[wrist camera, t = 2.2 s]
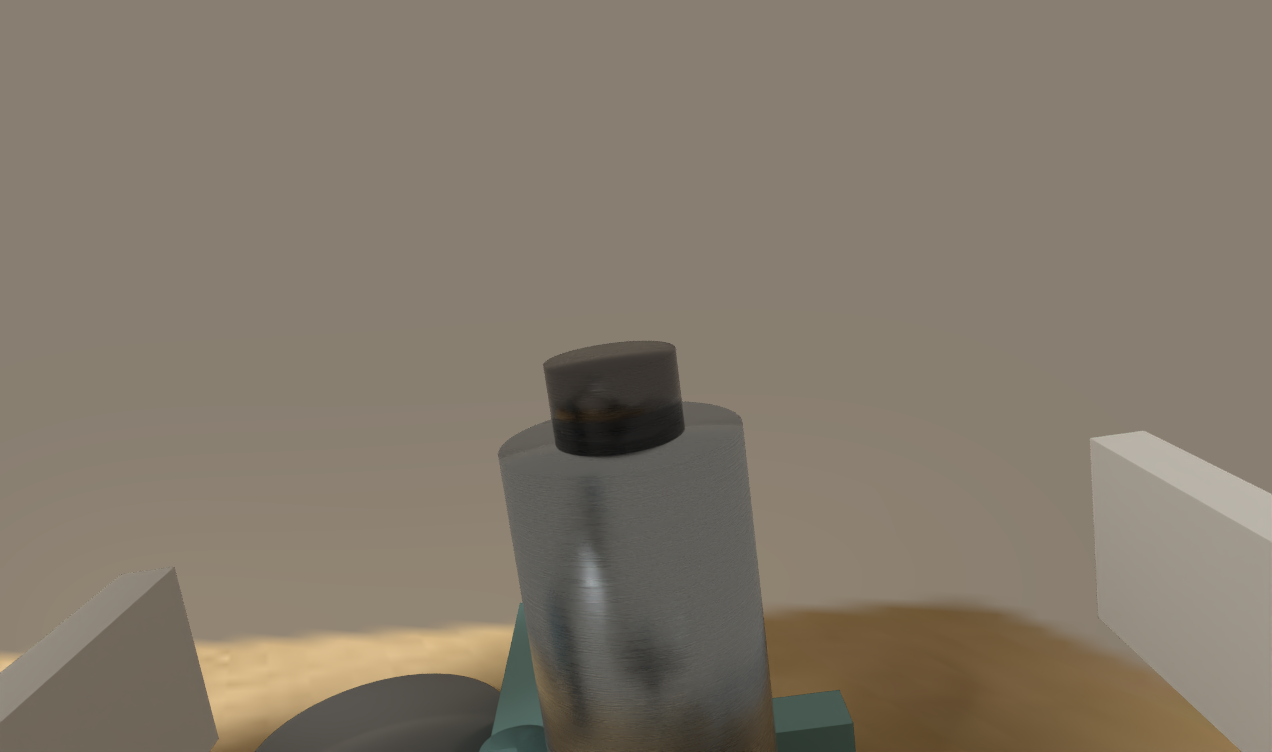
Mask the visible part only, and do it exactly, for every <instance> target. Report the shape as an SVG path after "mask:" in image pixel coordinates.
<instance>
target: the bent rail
mask: <svg viewBox="0 0 1272 752" xmlns="http://www.w3.org/2000/svg"><path fill="white" fill-rule="evenodd" d="M772 701H773V711H774V720H775V729H776V738H777V748H778V752H856V750H855V738H854V727H853V722H852V719H851V717H850V714H849V712H848V710H847V707H846V705H845V702H844V700H843V698H842V695H841V693H840V690H835V691H827V692H819V693H811V694H803V695H795V696H787V697H779V698H772ZM479 752H547V746H546V740H545V734H544V728H543V722H542V715H541V709H540V703H539V697H538V691H537V685H536V679H535V673H534V667H533V661H532V655H531V649H530V643H529V637H528V631H527V625H526V619H525V613H524V607H523V603H520V605H519V610H518V614H517V619H516V624H515V628H514V633H513V637H512V642H511V647H510V651H509V656H508V660H507V665H506V670H505V674H504V679H503V684H502V688H501V693H500V697H499V702H498V707H497V711H496V716H495V721H494V725H493V730H492V734H491V737H490V738H489V739H487V740H486V741H485V742H484V744H483V745H482V746H481V748H480V751H479Z"/></svg>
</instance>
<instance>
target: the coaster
mask: <svg viewBox="0 0 1272 752" xmlns="http://www.w3.org/2000/svg"><path fill="white" fill-rule="evenodd" d="M499 697H500V692H498V691H497V690H496V689H495V688H493V687H491V686H490V685H488V684H486V683H484V682H481V681H479V680H476V679H473V678H469V677H465V676H459V675H452V674H417V675H407V676H400V677H394V678H389V679H385V680H380V681H376V682H372V683H369V684H365V685H362V686H359V687H356V688H353V689H350V690H347V691H344V692H342V693H340V694H337V695H335V696H332V697H330V698H328V699H326V700H324V701H322V702H320V703H317V704H315V705H314V706H312V707H310V708H308V709H306V710H305V711H303V712H301V713H300V714H298V715H297V716H295V717H293V718H292V719H290V720H289V721H287V722H286V723H285V724H283V725H282V726H281V727H280V728H278V729H277V730H276V731H275V732H273V733H272V734H271V735H270V736H269V737H268V738H267V739H266V740H265V741H264V742H263V743H262V744H261V745H260V746H259V747H258V748H257V750H256V751H255V752H479V751H480V748H481V746H482V745H483V744H484V742H485V741H486V740H487V739H489V738H490V737H491V734H492V730H493V725H494V721H495V716H496V711H497V707H498V702H499Z"/></svg>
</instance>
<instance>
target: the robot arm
mask: <svg viewBox="0 0 1272 752" xmlns="http://www.w3.org/2000/svg"><path fill="white" fill-rule="evenodd" d="M1090 448H1091V449H1090V450H1091V471H1092V472H1091V473H1092V495H1093V517H1094V540H1095V559H1096V560H1095V562H1096V585H1097V606H1098V618H1099V619H1100V620H1101V621H1103V623H1105V624H1106V625H1107V626H1108V627H1109V628H1110V629H1111V630H1112V631H1113V632H1114V633H1115V634H1117V635H1118V637H1120V638H1121V639H1122V640H1123V641H1124V642H1125V643H1126V644H1127V645H1128V646H1129V647H1130V648H1131V649H1132V650H1133V651H1135V652H1136V653H1137V654H1138V655H1139V656H1140V657H1141V658H1142V659H1143V660H1144V661H1145V662H1146V663H1147V664H1148V665H1149V666H1151V667H1152V668H1153V669H1154V670H1155V671H1156V672H1157V673H1158V674H1159V675H1160V676H1161V677H1162V678H1163V679H1164V680H1166V681H1167V682H1168V683H1169V684H1170V685H1171V686H1172V687H1173V688H1174V689H1175V690H1176V691H1177V692H1178V693H1179V694H1181V695H1182V696H1183V697H1184V698H1185V699H1186V700H1187V701H1188V702H1189V703H1190V704H1191V705H1192V706H1193V707H1194V708H1195V709H1197V710H1198V711H1199V712H1200V713H1201V714H1202V715H1203V716H1204V717H1205V718H1206V719H1207V720H1208V721H1209V722H1210V723H1212V724H1213V725H1214V726H1215V727H1216V728H1217V729H1218V730H1219V731H1220V732H1221V733H1222V734H1223V735H1224V736H1225V737H1227V738H1228V739H1229V740H1230V741H1231V742H1232V743H1233V744H1234V745H1235V746H1236V747H1237V748H1238V749H1239V750H1240V751H1241V752H1272V494H1270V493H1268V492H1266V491H1264V490H1262V489H1260V488H1258V487H1256V486H1254V485H1252V484H1250V483H1248V482H1246V481H1244V480H1242V479H1240V478H1238V477H1236V476H1234V475H1232V474H1230V473H1228V472H1226V471H1224V470H1222V469H1220V468H1218V467H1216V466H1214V465H1212V464H1210V463H1208V462H1206V461H1204V460H1202V459H1200V458H1198V457H1196V456H1194V455H1192V454H1190V453H1188V452H1186V451H1184V450H1182V449H1180V448H1178V447H1176V446H1174V445H1172V444H1169V443H1168V442H1166V441H1164V440H1162V439H1160V438H1158V437H1155V436H1154V435H1152V434H1150V433H1148V432H1146V431H1139V432H1131V433H1124V434H1117V435H1110V436H1103V437H1095V438H1090ZM218 739H219V738H218V734H217V730H216V726H215V723H214V719H213V715H212V711H211V707H210V703H209V699H208V695H207V691H206V688H205V684H204V680H203V676H202V672H201V668H200V664H199V660H198V657H197V653H196V649H195V645H194V641H193V637H192V633H191V630H190V626H189V622H188V618H187V614H186V610H185V606H184V602H183V598H182V595H181V591H180V587H179V583H178V579H177V575H176V571H175V567H168V568H161V569H154V570H147V571H140V572H133V573H126V574H121V575H120V576H119V577H117V578H116V579H115V580H114V581H113V582H111V583H110V584H109V585H108V586H106V587H105V588H104V589H103V590H101V592H99V593H98V594H97V595H95V596H94V597H93V598H92V599H90V600H89V601H88V602H87V603H85V604H84V605H83V606H82V607H81V608H79V609H78V610H77V611H76V612H74V613H73V614H72V615H71V616H70V617H68V618H67V619H66V620H65V621H63V622H62V623H61V624H60V625H59V626H57V627H56V628H55V629H54V630H52V631H51V632H50V633H49V634H47V635H46V636H45V637H44V638H43V639H41V640H40V641H39V642H38V643H36V644H35V645H34V646H33V647H31V648H30V649H29V650H28V651H27V652H25V653H24V654H23V655H22V656H20V657H19V658H18V659H17V660H15V661H14V662H13V663H12V664H11V665H9V666H8V667H7V668H6V669H4V670H3V671H2V672H1V673H0V752H210V750H211V749H212V747H213V746H214V745H215V743H216V742H217V740H218Z"/></svg>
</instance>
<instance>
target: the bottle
mask: <svg viewBox="0 0 1272 752" xmlns="http://www.w3.org/2000/svg"><path fill="white" fill-rule="evenodd" d="M543 366H544V373H545V380H546V386H547V393H548V399H549V406H550V412H551V419H552V420H549V421H546V422H543V423H540V424H538V425H535V426H533V427H530V428H528V429H526V430H524V431H522V432H520V433H518V434H516V435H515V436H513V437H512V438H510V439H509V440H507V441H506V442H505V443H504V444H503V445H502V447H501V448H500V450H499V454H498V457H499V463H500V469H501V475H502V481H503V487H504V493H505V499H506V505H507V511H508V517H509V523H510V529H511V535H512V541H513V547H514V553H515V559H516V565H517V571H518V577H519V583H520V589H521V595H522V601H523V607H524V613H525V619H526V625H527V631H528V637H529V643H530V649H531V655H532V661H533V667H534V673H535V679H536V685H537V691H538V697H539V703H540V709H541V715H542V722H543V728H544V734H545V740H546V746H547V752H778V748H777V738H776V729H775V720H774V711H773V701H772V692H771V683H770V673H769V664H768V655H767V646H766V636H765V627H764V618H763V608H762V599H761V590H760V581H759V572H758V562H757V553H756V544H755V534H754V525H753V515H752V507H751V497H750V488H749V478H748V470H747V460H746V450H745V442H744V432H743V423H742V419H741V418H740V417H739V415H737V414H736V413H735V412H733V411H731V410H729V409H726V408H723V407H720V406H715V405H711V404H704V403H696V402H682V398H681V390H680V382H679V374H678V365H677V357H676V349H675V346H674V345H672V344H670V343H666V342H658V341H629V342H618V343H609V344H602V345H596V346H591V347H585V348H581V349H577V350H573V351H569V352H566V353H563V354H560V355H557V356H555V357H552V358H550V359H549V360H547V361H546V362H545V363H544V364H543Z"/></svg>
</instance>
